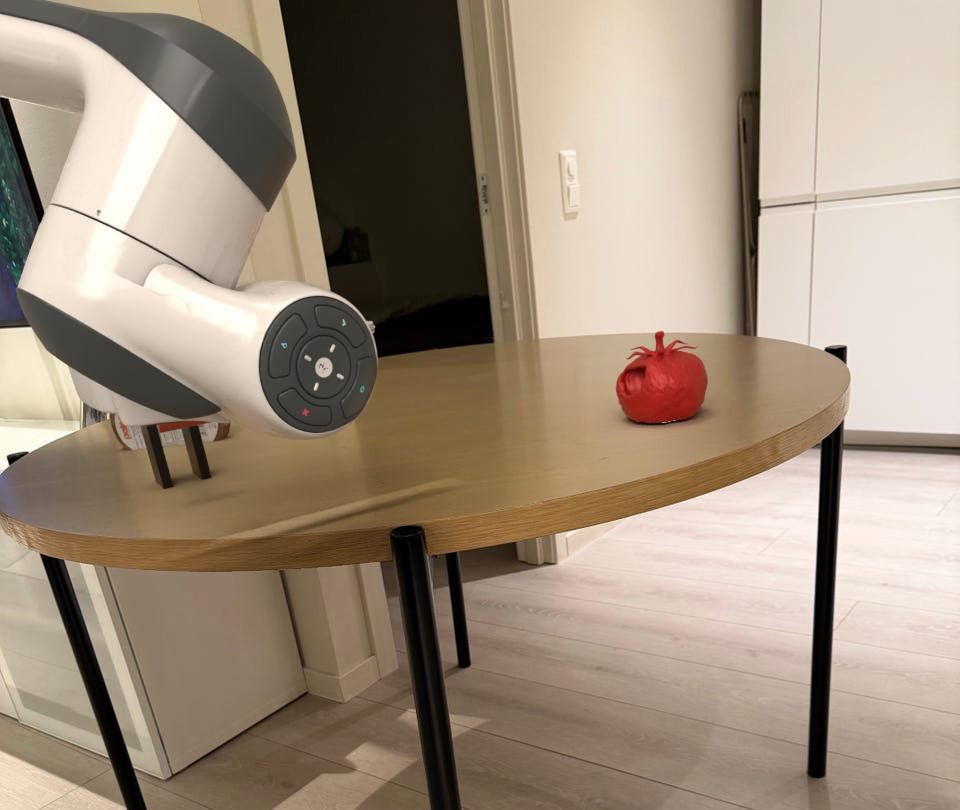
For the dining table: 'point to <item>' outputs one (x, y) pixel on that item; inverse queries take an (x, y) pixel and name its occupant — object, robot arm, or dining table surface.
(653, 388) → the red tomato
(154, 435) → the bracket
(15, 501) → the dining table surface
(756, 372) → the dining table surface
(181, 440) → the tin
